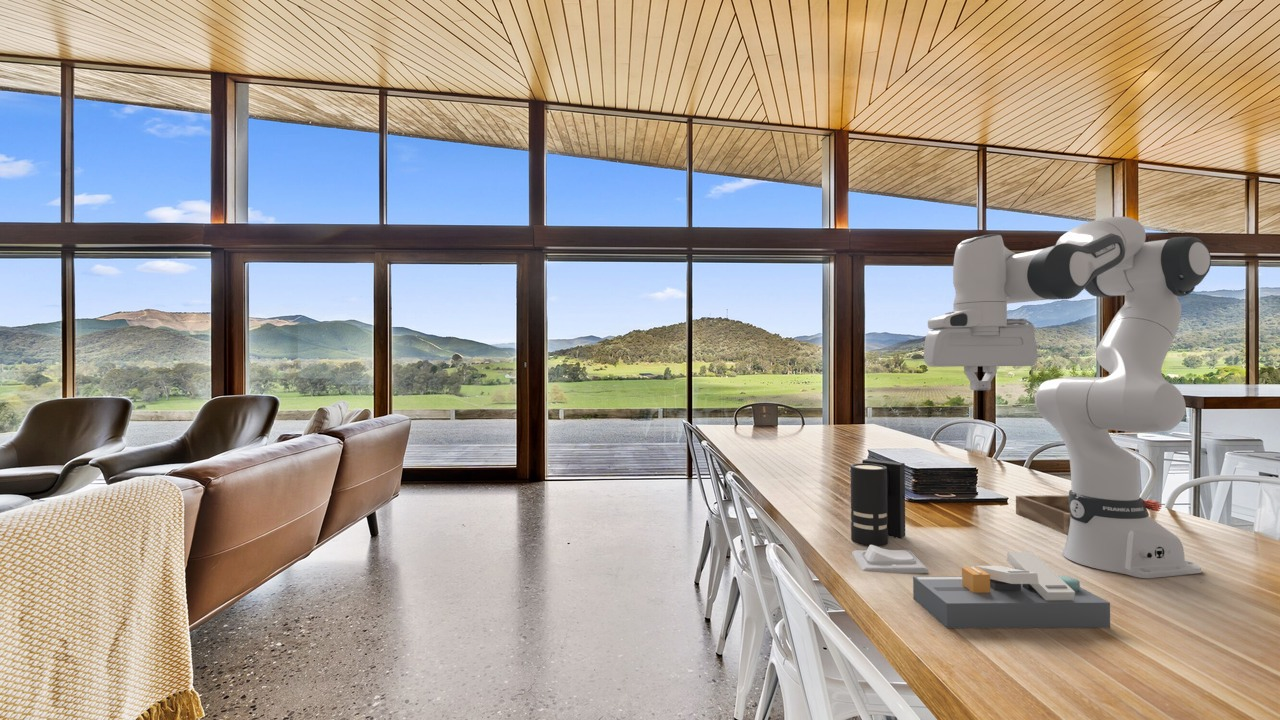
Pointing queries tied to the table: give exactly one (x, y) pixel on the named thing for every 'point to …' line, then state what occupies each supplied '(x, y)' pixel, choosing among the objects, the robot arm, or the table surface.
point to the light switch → (888, 560)
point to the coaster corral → (1046, 510)
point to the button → (1071, 583)
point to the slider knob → (976, 580)
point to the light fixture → (877, 502)
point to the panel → (1006, 606)
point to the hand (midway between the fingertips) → (980, 390)
